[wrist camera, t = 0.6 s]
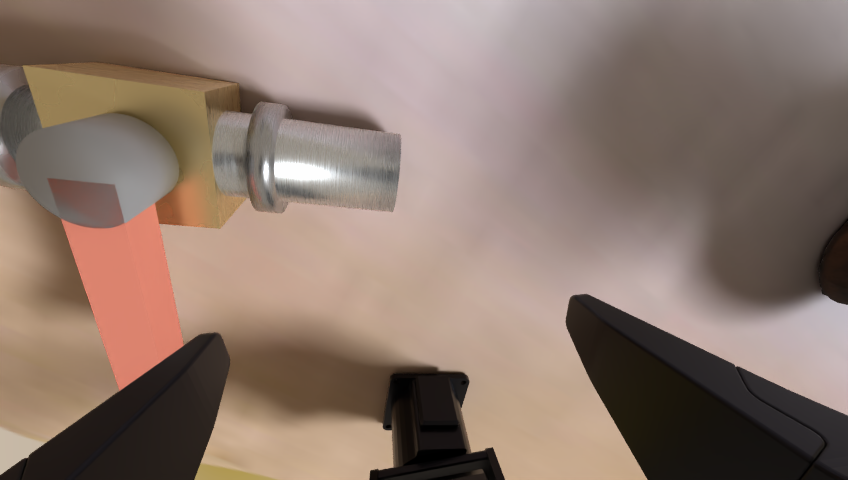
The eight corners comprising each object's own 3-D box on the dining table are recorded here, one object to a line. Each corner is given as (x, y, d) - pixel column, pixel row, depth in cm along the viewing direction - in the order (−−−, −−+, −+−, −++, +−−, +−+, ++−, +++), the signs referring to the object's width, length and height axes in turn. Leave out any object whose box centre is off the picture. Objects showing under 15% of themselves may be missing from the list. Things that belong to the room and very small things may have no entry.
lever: (213, 382, 21) (178, 454, 17) (144, 381, 20) (92, 456, 16) (171, 120, 14) (98, 145, 10) (64, 106, 13) (-56, 128, 10)
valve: (387, 207, 22) (390, 248, 17) (-43, 164, 18) (-184, 203, 13) (399, 106, 19) (407, 123, 15) (-105, 29, 15) (-307, 20, 11)
